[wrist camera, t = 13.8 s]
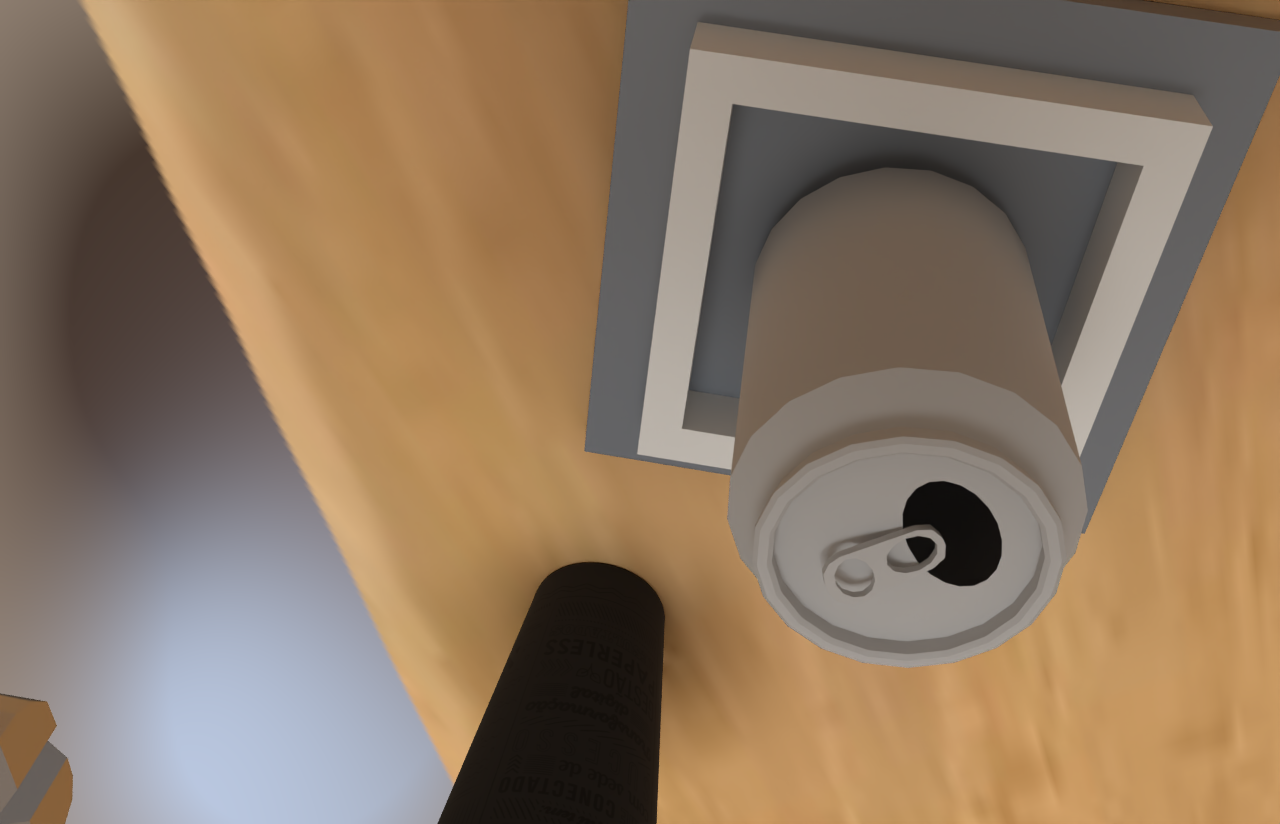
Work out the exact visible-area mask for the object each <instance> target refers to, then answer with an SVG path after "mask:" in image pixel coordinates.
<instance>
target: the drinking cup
mask: <svg viewBox="0 0 1280 824" xmlns="http://www.w3.org/2000/svg"><path fill="white" fill-rule="evenodd" d="M664 623H665V616H664V610H663V606H662V603H661V601H660V599H659V597H658V596H657V594H656V593H655V592H654V590H653V589H652V588H651V587H650V586H649V585H648V584H647V583H646V582H645V581H643V580H642V579H641V578H639V577H638V576H636V575H634V574H632V573H631V572H629V571H626V570H624V569H621V568H618V567H615V566H612V565H607V564H600V563H580V564H574V565H570V566H567V567H564V568H561V569H559V570H557V571H555V572H554V573H552V574H551V575H549V576H548V577H547V578H546V579H545V580H544V581H543V582H542V583H541V585H540V586H539V588H538V590H537V592H536V594H535V597H534V599H533V601H532V604H531V606H530V608H529V611H528V613H527V615H526V618H525V620H524V622H523V625H522V627H521V629H520V632H519V634H518V636H517V639H516V641H515V643H514V646H513V648H512V651H511V653H510V655H509V658H508V660H507V662H506V665H505V667H504V669H503V672H502V674H501V676H500V679H499V681H498V683H497V686H496V688H495V690H494V693H493V695H492V697H491V700H490V702H489V704H488V707H487V709H486V711H485V714H484V716H483V718H482V721H481V723H480V725H479V728H478V730H477V732H476V735H475V737H474V739H473V742H472V744H471V746H470V749H469V751H468V753H467V756H466V758H465V760H464V763H463V765H462V768H461V770H460V772H459V775H458V777H457V779H456V782H455V784H454V786H453V789H452V791H451V793H450V796H449V798H448V800H447V803H446V805H445V807H444V810H443V812H442V814H441V817H440V819H439V822H438V824H656V823H657V798H658V773H659V748H660V723H661V698H662V673H663V648H664Z"/></svg>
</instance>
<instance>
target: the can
mask: <svg viewBox="0 0 1280 824" xmlns="http://www.w3.org/2000/svg"><path fill="white" fill-rule="evenodd" d="M1087 512H1088V508H1087V501H1086V493H1085V486H1084V478H1083V470H1082V465H1081V461H1080V457H1079V453H1078V449H1077V445H1076V442H1075V438H1074V434H1073V430H1072V426H1071V422H1070V418H1069V414H1068V411H1067V407H1066V403H1065V399H1064V395H1063V391H1062V387H1061V384H1060V380H1059V376H1058V372H1057V368H1056V364H1055V360H1054V357H1053V353H1052V349H1051V345H1050V341H1049V337H1048V333H1047V330H1046V326H1045V322H1044V318H1043V314H1042V310H1041V306H1040V303H1039V299H1038V295H1037V291H1036V287H1035V283H1034V279H1033V276H1032V272H1031V268H1030V264H1029V260H1028V256H1027V252H1026V249H1025V247H1024V245H1023V243H1022V241H1021V240H1020V238H1019V236H1018V234H1017V233H1016V231H1015V229H1014V228H1013V226H1012V224H1011V222H1010V221H1009V219H1008V217H1007V215H1006V214H1005V213H1004V212H1003V211H1002V210H1000V209H999V208H998V207H997V206H996V205H994V204H993V203H992V202H991V201H990V200H988V199H987V198H986V197H985V196H984V195H982V194H981V193H980V192H979V191H978V190H976V189H975V188H974V187H972V186H970V185H967V184H965V183H962V182H959V181H957V180H954V179H952V178H949V177H947V176H944V175H941V174H939V173H936V172H934V171H930V170H915V169H901V168H886V167H884V168H880V169H875V170H871V171H866V172H862V173H857V174H853V175H848V176H843V177H839V178H838V179H836V180H834V181H832V182H830V183H829V184H827V185H825V186H823V187H821V188H819V189H818V190H816V191H814V192H812V193H810V194H809V195H807V196H805V197H803V198H801V199H800V200H799V201H798V202H797V203H796V204H795V205H794V206H793V207H792V208H791V209H790V211H789V212H788V213H787V214H786V215H785V216H784V217H783V218H782V219H781V220H780V221H779V222H778V223H777V224H776V225H775V226H774V227H773V228H772V229H771V232H770V234H769V236H768V238H767V240H766V242H765V245H764V247H763V249H762V251H761V253H760V255H759V258H758V260H757V262H756V264H755V271H754V279H753V288H752V296H751V305H750V314H749V322H748V331H747V339H746V348H745V357H744V365H743V374H742V382H741V391H740V399H739V408H738V417H737V425H736V434H735V442H734V451H733V459H732V468H731V477H730V490H729V503H728V516H727V519H728V522H729V525H730V528H731V531H732V534H733V537H734V540H735V543H736V546H737V549H738V552H739V555H740V558H741V559H742V561H743V562H744V563H745V564H746V566H747V567H748V568H749V569H750V570H751V572H752V573H753V574H754V575H755V577H756V578H757V579H758V582H759V585H760V588H761V591H762V594H763V597H764V598H765V599H766V600H767V602H768V603H769V604H770V605H771V607H772V608H773V609H774V610H775V611H776V613H777V614H778V615H779V616H780V618H781V619H782V620H783V621H784V622H785V624H786V625H787V626H788V627H790V628H791V629H793V630H794V631H796V632H797V633H799V634H800V635H802V636H803V637H805V638H806V639H808V640H809V641H811V642H812V643H814V644H815V645H817V646H818V647H820V648H821V649H824V650H827V651H830V652H833V653H836V654H839V655H842V656H845V657H848V658H850V659H853V660H856V661H859V662H862V663H869V664H879V665H888V666H897V667H906V668H910V667H919V666H929V665H938V664H947V663H955V662H958V661H960V660H963V659H966V658H969V657H972V656H975V655H978V654H981V653H983V652H986V651H989V650H992V649H995V648H997V647H999V646H1000V645H1002V644H1003V643H1005V642H1006V641H1008V640H1009V639H1011V638H1012V637H1014V636H1015V635H1017V634H1018V633H1019V632H1021V631H1022V630H1024V629H1025V628H1027V627H1028V626H1030V625H1031V624H1032V623H1033V622H1034V621H1035V619H1036V618H1037V617H1038V616H1039V614H1040V613H1041V612H1042V611H1043V609H1044V608H1045V607H1046V605H1047V604H1048V603H1049V602H1050V600H1051V599H1052V598H1053V597H1054V595H1055V594H1056V592H1057V588H1058V585H1059V582H1060V578H1061V575H1062V571H1063V568H1064V567H1065V565H1066V564H1067V563H1068V561H1069V560H1070V559H1071V558H1072V556H1073V555H1074V554H1075V552H1076V549H1077V545H1078V542H1079V538H1080V535H1081V532H1082V528H1083V525H1084V522H1085V518H1086V515H1087Z"/></svg>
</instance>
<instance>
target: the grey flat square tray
mask: <svg viewBox="0 0 1280 824" xmlns="http://www.w3.org/2000/svg"><path fill="white" fill-rule="evenodd" d="M1279 76H1280V20H1275V19H1269V18H1262V17H1255V16H1248V15H1241V14H1234V13H1227V12H1220V11H1213V10H1206V9H1199V8H1193V7H1186V6H1179V5H1172V4H1165V3H1158V2H1151V1H1144V0H629V1H628V11H627V21H626V31H625V42H624V52H623V62H622V72H621V83H620V93H619V103H618V113H617V123H616V134H615V144H614V154H613V164H612V175H611V185H610V195H609V205H608V216H607V226H606V236H605V246H604V257H603V267H602V277H601V287H600V297H599V308H598V318H597V328H596V338H595V349H594V359H593V369H592V379H591V390H590V400H589V410H588V420H587V431H586V441H585V451H586V452H592V453H598V454H604V455H610V456H616V457H623V458H629V459H635V460H641V461H647V462H653V463H659V464H665V465H671V466H677V467H683V468H689V469H695V470H701V471H707V472H714V473H720V474H726V475H731V468H732V459H733V451H734V442H735V434H736V425H737V417H738V408H739V399H740V391H741V382H742V374H743V365H744V357H745V348H746V339H747V331H748V322H749V314H750V305H751V296H752V288H753V279H754V271H755V264H756V262H757V260H758V258H759V255H760V253H761V251H762V249H763V247H764V245H765V242H766V240H767V238H768V236H769V234H770V232H771V229H772V228H773V227H774V226H775V225H776V224H777V223H778V222H779V221H780V220H781V219H782V218H783V217H784V216H785V215H786V214H787V213H788V212H789V211H790V209H791V208H792V207H793V206H794V205H795V204H796V203H797V202H798V201H799V200H800V199H801V198H803V197H805V196H807V195H809V194H810V193H812V192H814V191H816V190H818V189H819V188H821V187H823V186H825V185H827V184H829V183H830V182H832V181H834V180H836V179H838V178H839V177H843V176H848V175H853V174H857V173H862V172H866V171H871V170H875V169H880V168H884V167H886V168H901V169H915V170H930V171H934V172H936V173H939V174H941V175H944V176H947V177H949V178H952V179H954V180H957V181H959V182H962V183H965V184H967V185H970V186H972V187H974V188H975V189H976V190H978V191H979V192H980V193H981V194H982V195H984V196H985V197H986V198H987V199H988V200H990V201H991V202H992V203H993V204H994V205H996V206H997V207H998V208H999V209H1000V210H1002V211H1003V212H1004V213H1005V214H1006V215H1007V217H1008V219H1009V221H1010V222H1011V224H1012V226H1013V228H1014V229H1015V231H1016V233H1017V234H1018V236H1019V238H1020V240H1021V241H1022V243H1023V245H1024V247H1025V249H1026V252H1027V256H1028V260H1029V264H1030V268H1031V272H1032V276H1033V279H1034V283H1035V287H1036V291H1037V295H1038V299H1039V303H1040V306H1041V310H1042V314H1043V318H1044V322H1045V326H1046V330H1047V333H1048V337H1049V341H1050V345H1051V349H1052V353H1053V357H1054V360H1055V364H1056V368H1057V372H1058V376H1059V380H1060V384H1061V387H1062V391H1063V395H1064V399H1065V403H1066V407H1067V411H1068V414H1069V418H1070V422H1071V426H1072V430H1073V434H1074V438H1075V442H1076V445H1077V449H1078V453H1079V457H1080V461H1081V465H1082V470H1083V478H1084V486H1085V493H1086V501H1087V508H1088V512H1087V515H1086V518H1085V522H1084V525H1083V528H1082V532H1081V533H1084V534H1085V531H1086V529H1087V527H1088V524H1089V522H1090V520H1091V517H1092V515H1093V513H1094V510H1095V508H1096V506H1097V503H1098V501H1099V499H1100V496H1101V494H1102V491H1103V489H1104V487H1105V484H1106V482H1107V480H1108V477H1109V475H1110V473H1111V470H1112V468H1113V466H1114V463H1115V461H1116V459H1117V456H1118V454H1119V452H1120V449H1121V447H1122V445H1123V442H1124V440H1125V437H1126V435H1127V433H1128V430H1129V428H1130V426H1131V423H1132V421H1133V419H1134V416H1135V414H1136V412H1137V409H1138V407H1139V405H1140V402H1141V400H1142V398H1143V395H1144V393H1145V390H1146V388H1147V386H1148V383H1149V381H1150V379H1151V376H1152V374H1153V372H1154V369H1155V367H1156V365H1157V362H1158V360H1159V358H1160V355H1161V353H1162V351H1163V348H1164V346H1165V344H1166V341H1167V339H1168V336H1169V334H1170V332H1171V329H1172V327H1173V325H1174V322H1175V320H1176V318H1177V315H1178V313H1179V311H1180V308H1181V306H1182V304H1183V301H1184V299H1185V297H1186V294H1187V292H1188V289H1189V287H1190V285H1191V282H1192V280H1193V278H1194V275H1195V273H1196V271H1197V268H1198V266H1199V264H1200V261H1201V259H1202V257H1203V254H1204V252H1205V250H1206V247H1207V245H1208V243H1209V240H1210V238H1211V235H1212V233H1213V231H1214V228H1215V226H1216V224H1217V221H1218V219H1219V217H1220V214H1221V212H1222V210H1223V207H1224V205H1225V203H1226V200H1227V198H1228V196H1229V193H1230V191H1231V188H1232V186H1233V184H1234V181H1235V179H1236V177H1237V174H1238V172H1239V170H1240V167H1241V165H1242V163H1243V160H1244V158H1245V156H1246V153H1247V151H1248V149H1249V146H1250V144H1251V142H1252V139H1253V137H1254V134H1255V132H1256V130H1257V127H1258V125H1259V123H1260V120H1261V118H1262V116H1263V113H1264V111H1265V109H1266V106H1267V104H1268V102H1269V99H1270V97H1271V95H1272V92H1273V90H1274V87H1275V85H1276V83H1277V80H1278V78H1279Z"/></svg>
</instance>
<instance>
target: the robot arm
mask: <svg viewBox="0 0 1280 824" xmlns="http://www.w3.org/2000/svg"><path fill="white" fill-rule="evenodd" d="M56 726H57V725H56V723H55V720H54V718H53V715H52V713H51V710H50V708H49V705H48V703H47V702H46V701H41V700H35V699H29V698H24V697H18V696H12V695H6V694H1V693H0V824H65V822H66V818H67V815H68V812H69V808H70V805H71V802H72V788H73V787H72V786H73V780H72V779H73V775H72V771H71V768H70V765H69V762H68V759H67V757H66V756H65V755H64V754H62V753H61V752H60V751H59V750H58V749H57V748H55V747H54V746H53V745H52V744H51V743H50V742H49V741H48V739H49V737H50V736H51V734H52V733H53V731H54V729H55V728H56Z"/></svg>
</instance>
